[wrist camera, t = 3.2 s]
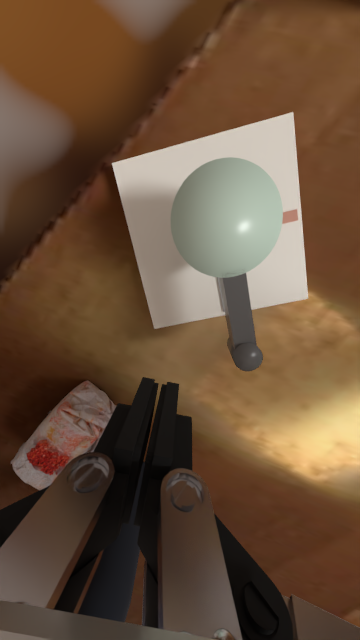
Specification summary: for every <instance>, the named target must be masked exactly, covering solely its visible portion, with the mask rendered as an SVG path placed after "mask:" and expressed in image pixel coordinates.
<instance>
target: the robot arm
mask: <svg viewBox="0 0 360 640" xmlns="http://www.w3.org/2000/svg"><path fill="white" fill-rule="evenodd" d="M154 381H155V379H150V378H145V377H143V378H142V381H141V383H140V385H139V388H138V390H137V393H136V395H135V398H134V400H133V403H132V405H131V406H130V405H125V404H120V403H119V404H117V406H116V408H115V410H114V412H113V414H112V416H111V418H110V420H109V422H108V424H107V426H106V428H105V430H104V432H103V434H102V436H101V438H100V440H99V442H98V444H97V445H96V447H95V449H94V451H93V452H87V453H84V454H81V455H79V456H77V457H75V458H74V459H72V460H71V461H70V462H69V463H68V464H67V465H66V466H65V468H64V469H63V470H62V471H61V473H60V474H59V475H58V476H57V478H56V479H55V480H54V481H53V483H52V484H51V485H50V486H48V487H46V488H44V489H42V490H40V491H38V492H36V493H34V494H32V495H30V496H28V497H26V498H24V499H22V500H20V501H17V502H15V503H13V504H11V505H9V506H7V507H5V508H3V509H1V510H0V640H360V628H359V627H357V626H355V625H353V624H351V623H349V622H347V621H344V620H342V619H340V618H338V617H336V616H334V615H332V614H330V613H328V612H326V611H324V610H322V609H320V608H318V607H316V606H314V605H312V604H310V603H308V602H306V601H304V600H302V599H300V598H298V597H296V596H294V595H291V597H290V599H289V598H287V597H285V596H283V595H281V593H280V592H279V590H278V589H277V588H276V586H275V585H274V583H273V582H272V581H271V580H270V578H269V577H268V576H267V575H266V574H265V573H264V571H263V570H262V569H261V568H260V567H259V565H258V564H257V563H256V562H255V561H254V560H253V558H252V557H251V556H250V555H249V554H248V553H247V551H246V550H245V549H244V548H243V547H242V546H241V544H240V543H239V542H238V541H237V540H236V538H235V537H234V536H233V535H232V534H231V533H230V531H229V530H228V529H227V528H226V527H225V526H224V524H223V523H222V522H221V521H220V520H219V519H218V517H217V516H216V515H215V514H214V512H213V507H212V503H211V498H210V494H209V490H208V488H207V485H206V483H205V482H204V480H203V479H202V478H201V477H200V476H199V475H198V474H197V473H195V472H193V471H192V419H191V417H188V416H183V415H178V414H176V413H177V401H178V390H179V384H176V383H171V382H167V385H164V384H162V387H161V392H160V396H159V401H158V405H157V410H156V414H155V419H154V423H153V428H152V432H151V437H150V441H149V446H148V450H147V455H146V460H145V466H144V471H143V477H142V482H141V487H140V493H139V498H138V504H137V509H136V515H135V520H134V525H135V526H140V529H139V534H138V541H137V544H138V546H139V548H140V550H141V552H142V553H143V555H144V557H145V564H144V588H143V615H142V626H141V625H136V624H130V623H125V622H119V621H114V620H108V619H103V618H97V617H92V616H86V615H81V614H78V611H79V609H80V607H81V604H82V602H83V599H84V597H85V595H86V592H87V590H88V588H89V585H90V583H91V581H92V578H93V576H94V573H95V571H96V569H97V566H98V564H99V562H100V559H101V556H102V553H103V550H104V549H105V548H106V547H107V546H108V545H110V544H111V543H112V542H114V541H115V540H116V539H117V536H119V535H120V531H121V527H122V523H124V524H129V520H130V516H131V511H132V507H133V503H134V498H135V494H136V490H137V486H138V481H139V477H140V473H141V468H142V464H143V460H144V455H145V451H146V447H147V443H148V438H149V433H150V428H151V422H152V417H153V411H154V406H155V400H156V395H157V389H158V383H154Z"/></svg>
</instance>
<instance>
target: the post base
mask: <svg viewBox="0 0 360 640" xmlns="http://www.w3.org/2000/svg"><path fill="white" fill-rule="evenodd" d="M228 157H233V158H241V159H245V160H248V161H250V162H252V163H254V164H256V165H258V166H259V167H261V168H262V169H263V170H264V171H265V172H267V174H268V175H269V176H270V177H271V178H272V180H273V181H274V183H275V185H276V187H277V189H278V191H279V194H280V197H281V201H282V207H283V220H282V227H281V231H280V234H279V237H278V240H277V242H276V244H275V246H274V248H273V249H272V251H271V252H270V254H269V255H268V256H267V257H266V258H265V259H264V260H263V261H262V262H261V263H260V264H259V265H258V266H256V267H255V268H254V269H252V270H250V271H248V272H246V276H247V283H248V290H249V297H250V304H251V310H253V309H258V308H263V307H268V306H273V305H278V304H283V303H289V302H294V301H299V300H304V299H308V291H307V278H306V266H305V253H304V241H303V228H302V216H301V203H300V191H299V179H298V166H297V154H296V141H295V129H294V116H293V112H292V113H288V114H285V115H281V116H278V117H274V118H271V119H267V120H264V121H260V122H256V123H253V124H249V125H246V126H242V127H239V128H235V129H232V130H228V131H225V132H221V133H217V134H214V135H210V136H207V137H203V138H200V139H196V140H193V141H189V142H186V143H182V144H178V145H175V146H171V147H168V148H164V149H161V150H157V151H154V152H150V153H147V154H143V155H140V156H136V157H132V158H129V159H125V160H122V161H118V162H115V163H112V166H113V170H114V174H115V178H116V182H117V186H118V190H119V193H120V197H121V201H122V205H123V209H124V213H125V217H126V221H127V225H128V229H129V232H130V236H131V240H132V244H133V248H134V252H135V256H136V260H137V264H138V267H139V271H140V275H141V279H142V283H143V287H144V291H145V295H146V299H147V303H148V306H149V310H150V314H151V318H152V322H153V326H154V329H157V328H162V327H167V326H172V325H177V324H182V323H187V322H192V321H197V320H203V319H208V318H213V317H218V316H223V315H225V310H224V304H223V298H222V292H221V287H220V281H219V277H213V276H209V275H206V274H203V273H201V272H199V271H197V270H196V269H194V268H193V267H192V266H190V265H189V264H188V263H187V262H186V261H185V260H184V259H183V257H182V256H181V255H180V253H179V251H178V250H177V248H176V245H175V243H174V240H173V237H172V232H171V210H172V205H173V202H174V199H175V196H176V194H177V192H178V190H179V188H180V186H181V185H182V183H183V182H184V181H185V179H186V178H187V177H188V176H189V175H190V174H191V173H192V172H193V171H194V170H196V169H197V168H199V167H200V166H201V165H203V164H205V163H207V162H209V161H212V160H215V159H220V158H228Z"/></svg>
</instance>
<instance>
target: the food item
mask: <svg viewBox="0 0 360 640" xmlns="http://www.w3.org/2000/svg"><path fill="white" fill-rule="evenodd" d="M115 408H116V405H114V404H113V402H112V401H111V400H110V399H109V398H108V396H107V394H106V393H104V392H103V391H101V390H99V389H98V388H97V387H96V386H95V385H94V384H92V383H91V382H90V381H88V380H87V381H84V382H82V383H81V384H80V385H78V386H77V387H75V388H74V389H73V390H72V391H71V392H70V393H69V394H67V395H66V396H65V397H64V398H63V399H62V400H61V401H60V402H59V404H58V405H57V406H56V407H55V408H54V409H53V410H52V411H49V412H48V413H49V414H48V416H46V418H45V419H44V420H43V421H42V423H41V424H40V425H39V426H38V428H37V429H36V431H34V433H33V434H32V436H31V437H30V438H29V439H28V441H27V442H26V443H23V445H22V446H21V447H20V449H19V451H18V453H17V454H16V456H15V458H14V459H13V460H12V461H11V464H12V466H13V470H14V471H15V473H16V474H17V475H18V476H19V477H20V478H21V480H22V481H24V482H25V483H27V484H30V485H31V486H32V487H34V488H36V489H38V490H42V489H44V488H46V487H48V486H50V485H51V484H52V483H53V481H54V480H55V479H56V478H57V476H58V475H59V474H60V473H61V471H62V470H63V469H64V468H65V466H66V465H67V464H68V463H69V462H70V461H71V460H72V459H74V458H75V457H77V456H79V455H81V454H84V453H86V452H87V451H88V450H90V451H89V452H93V451H94V449H95V447H96V445H97V444H98V442H99V440H100V438H101V436H102V434H103V432H104V430H105V428H106V426H107V424H108V422H109V420H110V418H111V416H112V414H113V412H114V410H115Z"/></svg>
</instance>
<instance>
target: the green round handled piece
mask: <svg viewBox="0 0 360 640" xmlns="http://www.w3.org/2000/svg"><path fill="white" fill-rule="evenodd" d="M282 220H283V207H282V201H281V197H280V194H279V191H278V189H277V187H276V185H275V183H274V181H273V180H272V178H271V177H270V176H269V175H268V174H267V172H265V171H264V170H263V169H262V168H261V167H259V166H258V165H256V164H254V163H252V162H250V161H248V160H245V159H241V158H233V157H228V158H220V159H215V160H212V161H209V162H207V163H205V164H203V165H201V166H200V167H199V168H197V169H196V170H194V171H193V172H192V173H191V174H190V175H189V176H188V177H187V178H186V179H185V181H184V182H183V183H182V185H181V186H180V188H179V190H178V192H177V194H176V196H175V199H174V202H173V205H172V210H171V232H172V237H173V240H174V243H175V245H176V248H177V250H178V251H179V253H180V255H181V256H182V257H183V259H184V260H185V261H186V262H187V263H188V264H189V265H190V266H192V267H193V268H194V269H196V270H197V271H199V272H201V273H203V274H206V275H209V276H213V277H219V281H220V287H221V292H222V298H223V304H224V310H225V315H226V321H227V327H228V333H229V338H228V341H227V346H228V348H229V351H230V353H231V355H232V358H233V360H234V362H235V365H236V366H237V367H238V368H239V369H241V370H243V371H252V370H255V369H256V368H258V367H259V366H260V365H261V363H262V360H263V355H262V352H261V350H260V349H259V348H258V347H257V345H256V338H255V331H254V324H253V318H252V311H251V304H250V297H249V290H248V283H247V276H246V272H248V271H250V270H252V269H254V268H255V267H256V266H258V265H259V264H260V263H261V262H262V261H263V260H264V259H265V258H266V257H267V256H268V255H269V254H270V252H271V251H272V249H273V248H274V246H275V244H276V242H277V240H278V237H279V234H280V231H281V227H282Z"/></svg>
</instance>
